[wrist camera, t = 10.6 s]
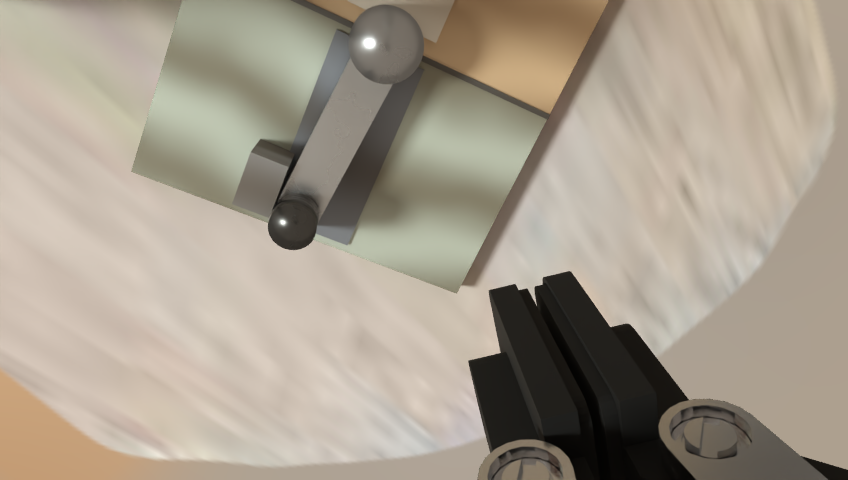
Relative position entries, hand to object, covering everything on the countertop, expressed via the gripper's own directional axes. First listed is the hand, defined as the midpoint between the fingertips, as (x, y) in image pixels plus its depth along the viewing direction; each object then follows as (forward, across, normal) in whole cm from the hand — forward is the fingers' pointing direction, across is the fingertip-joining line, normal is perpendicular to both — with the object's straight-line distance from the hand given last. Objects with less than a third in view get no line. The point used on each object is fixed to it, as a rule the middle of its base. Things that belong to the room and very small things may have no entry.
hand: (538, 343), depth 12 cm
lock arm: (+23, +5, -1) cm, 23 cm away
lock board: (+24, +2, -4) cm, 25 cm away
